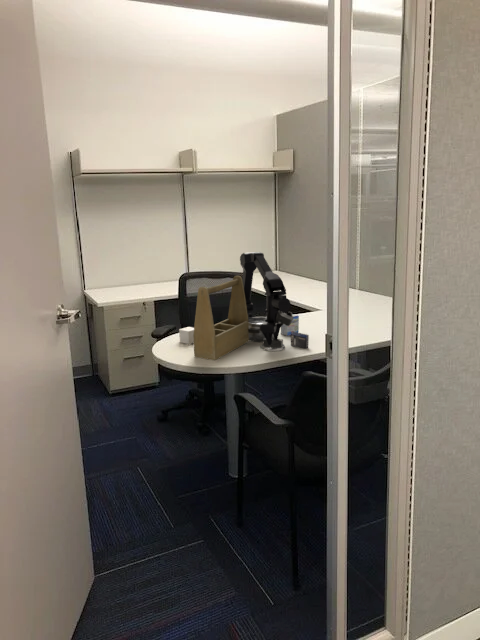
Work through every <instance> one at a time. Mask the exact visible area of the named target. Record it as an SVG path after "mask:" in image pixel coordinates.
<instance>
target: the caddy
mask: <svg viewBox="0 0 480 640" xmlns="http://www.w3.org/2000/svg"><path fill="white" fill-rule="evenodd" d="M229 288H231V293H230V300H229V307H228V314H227V315H228V316H227V319H225V320H222V321H220V322H218V323H215V324H214V315H213V312H212V311H213V310H212V304H211V299H210V295H211V294H214V293H217V292H220V291H222V290H225V289H229ZM193 325H194V326H193V328H194V343H193V355H194V358H200V359H205V360H210V361H217V360H219V359H220V358H222V357H224V356H226V355H228V354H229V353H231V352H232V351H234V350H236V349H238V348H240V347H241V346H244V345H245V344H248V343H249V321H248V313H247V307H246V300H245V293H244V287H243V281H242V276H241V275H234V277H233V278H232V280H229V281H226V282H223V283H220V284H216V285H214V286H210V287H206V286H200V287H198V290H197V297H196V308H195V315H194V324H193Z"/></svg>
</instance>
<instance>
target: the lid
mask: <svg viewBox="0 0 480 640" xmlns="http://www.w3.org/2000/svg"><path fill="white" fill-rule="evenodd" d="M260 348H261V350H263V351H268V352H280V351H283V349H284V350H285V349H286V345H285V344H284V339H281V338H278V339H273V338H272V344H271V345H268V343H267V341H266V338H265V339H263V342H262V344H261V346H260Z"/></svg>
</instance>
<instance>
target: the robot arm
mask: <svg viewBox="0 0 480 640" xmlns="http://www.w3.org/2000/svg"><path fill="white" fill-rule="evenodd" d="M239 261H240V262H239V263H240V267H242V276H241V278H242V281H243V287H244V293H245V300H246V307H247V313H248V318H252V317H253V313H254V304H253V302H252V301H251V296H252V288H253V287H252V286H253V278H254V272H255V270H256V269H257V271H258V272H259V274H260V276H261V277H262V279H263V281H262V286H263V289H264V291H265V292H264V295H265V296H266V309H265V310H264V313H266V317H267V318H266V319H265V322H264V323H263V324H262V325H261V326H260V331H261V332H262V333H263V335H264V336H265V338H266V341H267V343H268V345H271V344H272V338H273V335H274V338H275V339H279V335H280V332H281V326H282V325H283V324H285V325H287V326H289V325H290V324H291V323H292V320H293V316H292V314H293V312H292V311H289V310H290V309H291V305H292V304H291V301H290V299H289V298H287V288H286V287H285V284H284V282H283V280H282V278H281V277H280V276H279V275H278V274H277V273H275V272H274V271H273V270H272V268H271V267H270V265H269V263H268V261H267V260H266V258H265V255H264V253H263V252H261V251H259V252H257V251H255V252H254V251H253V252H243V253H241V255H240V257H239ZM267 322H268V323H267Z"/></svg>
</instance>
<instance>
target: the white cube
mask: <svg viewBox="0 0 480 640" xmlns="http://www.w3.org/2000/svg"><path fill="white" fill-rule="evenodd" d="M178 332H179V343H183V344H186V345H191V344H194V326H187V327H183V328H179V329H178Z"/></svg>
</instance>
